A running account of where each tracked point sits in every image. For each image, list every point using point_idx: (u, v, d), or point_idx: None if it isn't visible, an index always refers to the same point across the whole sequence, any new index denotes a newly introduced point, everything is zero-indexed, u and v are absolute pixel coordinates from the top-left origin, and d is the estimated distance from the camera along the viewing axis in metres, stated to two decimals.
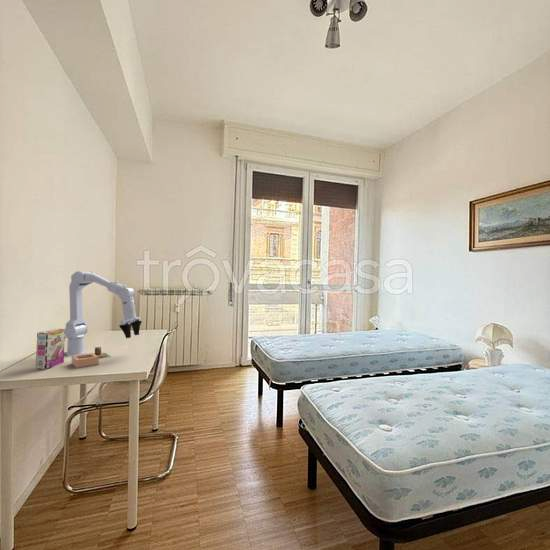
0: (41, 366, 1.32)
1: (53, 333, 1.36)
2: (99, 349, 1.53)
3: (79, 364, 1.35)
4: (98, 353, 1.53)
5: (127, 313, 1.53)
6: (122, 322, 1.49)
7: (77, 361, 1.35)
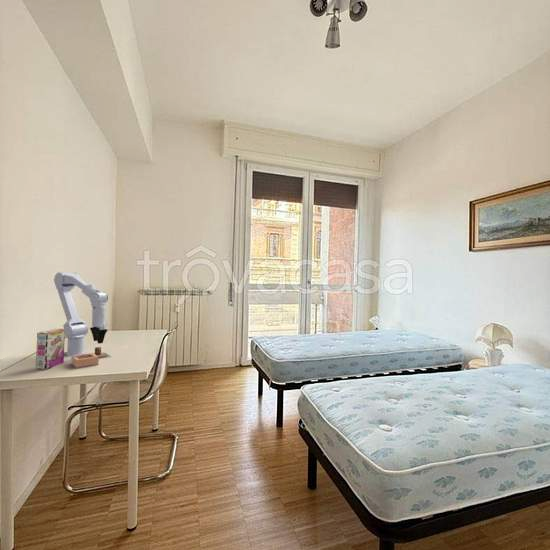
0: (41, 366, 1.32)
1: (53, 333, 1.36)
2: (99, 349, 1.53)
3: (79, 364, 1.35)
4: (98, 353, 1.53)
5: (101, 318, 1.52)
6: (103, 327, 1.49)
7: (77, 361, 1.35)
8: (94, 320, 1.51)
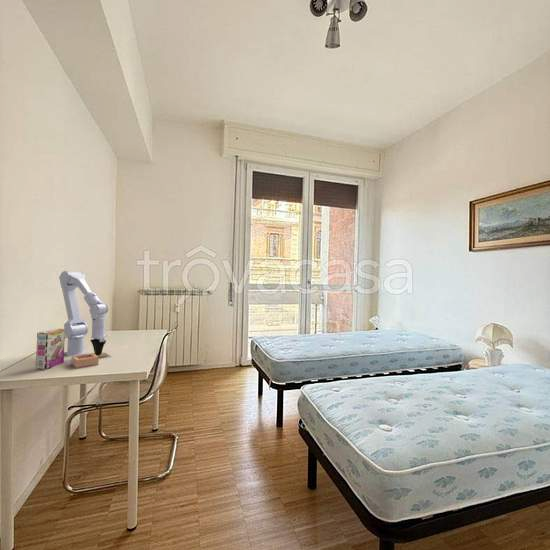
0: (41, 366, 1.32)
1: (53, 333, 1.36)
2: None
3: (79, 364, 1.35)
4: None
5: (101, 330, 1.52)
6: (102, 339, 1.49)
7: (77, 361, 1.35)
8: (94, 332, 1.51)
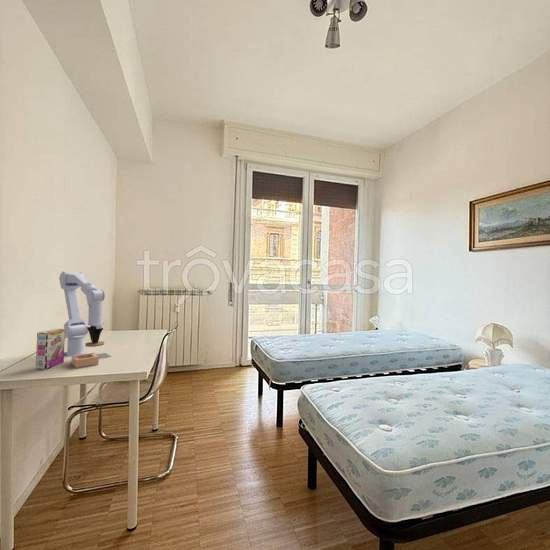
0: (41, 366, 1.32)
1: (53, 333, 1.36)
2: None
3: (79, 364, 1.35)
4: None
5: (98, 317, 1.48)
6: (99, 326, 1.45)
7: (77, 361, 1.35)
8: (90, 319, 1.47)
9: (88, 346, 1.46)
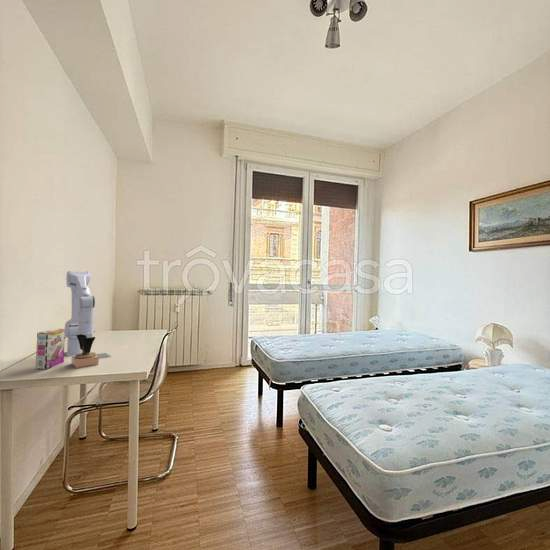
0: (41, 366, 1.32)
1: (53, 333, 1.36)
2: None
3: (79, 364, 1.35)
4: (86, 353, 1.40)
5: (88, 325, 1.39)
6: (90, 335, 1.35)
7: (77, 361, 1.35)
8: (80, 327, 1.38)
9: (79, 358, 1.37)
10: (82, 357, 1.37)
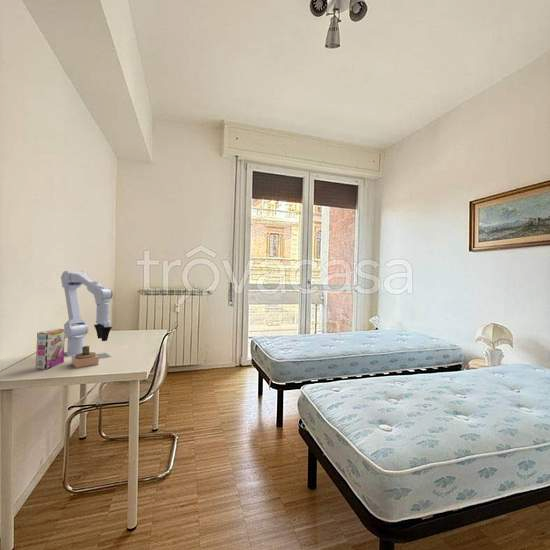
0: (41, 366, 1.32)
1: (53, 333, 1.36)
2: (87, 348, 1.40)
3: (79, 364, 1.35)
4: (86, 353, 1.40)
5: (105, 315, 1.49)
6: (107, 324, 1.45)
7: (77, 361, 1.35)
8: (98, 317, 1.48)
9: (79, 358, 1.37)
10: (82, 357, 1.37)
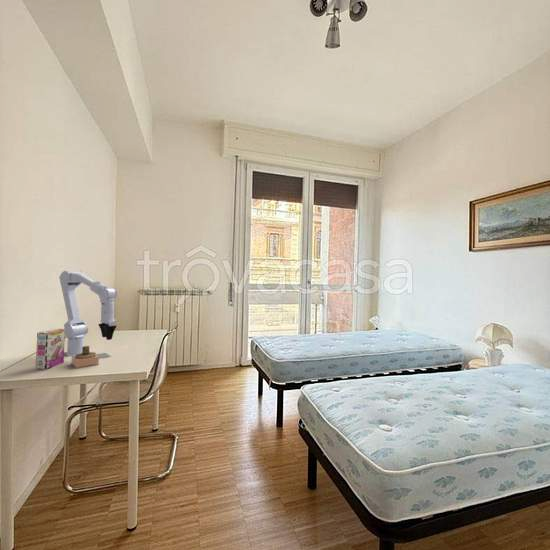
0: (41, 366, 1.32)
1: (53, 333, 1.36)
2: (87, 348, 1.40)
3: (79, 364, 1.35)
4: (86, 353, 1.40)
5: (110, 314, 1.52)
6: (112, 323, 1.48)
7: (77, 361, 1.35)
8: (103, 316, 1.50)
9: (79, 358, 1.37)
10: (82, 357, 1.37)
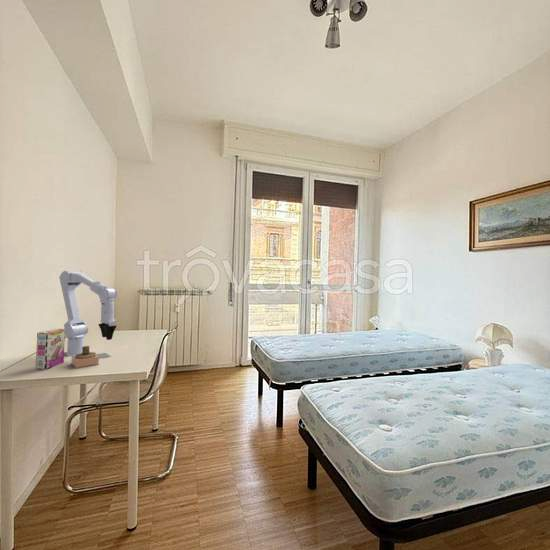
0: (41, 366, 1.32)
1: (53, 333, 1.36)
2: (87, 348, 1.40)
3: (79, 364, 1.35)
4: (86, 353, 1.40)
5: (110, 314, 1.52)
6: (112, 323, 1.48)
7: (77, 361, 1.35)
8: (103, 316, 1.50)
9: (79, 358, 1.37)
10: (82, 357, 1.37)
